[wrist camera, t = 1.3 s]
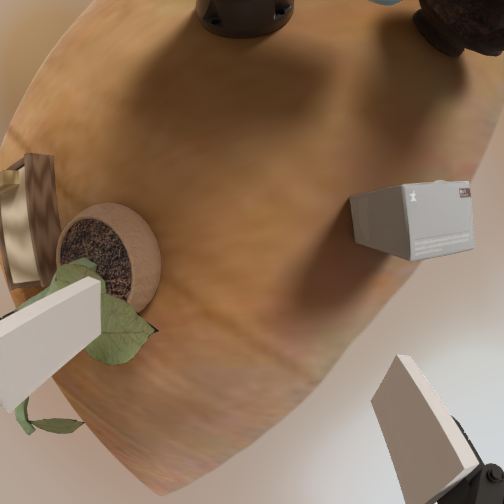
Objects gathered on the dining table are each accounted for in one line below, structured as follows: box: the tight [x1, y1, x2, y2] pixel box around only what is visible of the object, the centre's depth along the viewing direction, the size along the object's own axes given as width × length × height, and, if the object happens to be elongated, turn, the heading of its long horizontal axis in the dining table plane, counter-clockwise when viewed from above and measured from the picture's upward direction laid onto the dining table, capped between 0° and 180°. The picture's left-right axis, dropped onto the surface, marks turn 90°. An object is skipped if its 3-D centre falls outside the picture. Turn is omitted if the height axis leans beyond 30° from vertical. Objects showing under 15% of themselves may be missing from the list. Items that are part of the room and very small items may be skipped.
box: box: [0, 153, 61, 290], centre depth 35 cm, size 22×13×7 cm, turn 9°
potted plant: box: [14, 202, 162, 435], centre depth 23 cm, size 22×18×30 cm
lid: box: [0, 166, 40, 283], centre depth 31 cm, size 19×10×5 cm, turn 9°
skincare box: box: [349, 180, 474, 262], centre depth 26 cm, size 8×7×16 cm
